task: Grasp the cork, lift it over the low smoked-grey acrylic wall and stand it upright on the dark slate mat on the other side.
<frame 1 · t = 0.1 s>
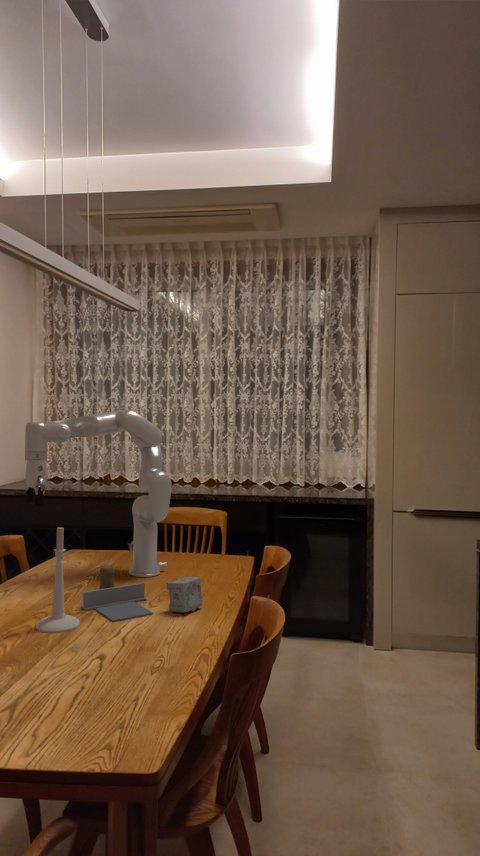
hand: (34, 503, 216), 31 cm above the table, fingers open, 9 cm apart
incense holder: (184, 610, 198), on the table
slate mat: (123, 612, 194), on the table
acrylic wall: (114, 603, 202), on the table
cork: (106, 597, 210), on the table
candlestick: (58, 626, 180), on the table
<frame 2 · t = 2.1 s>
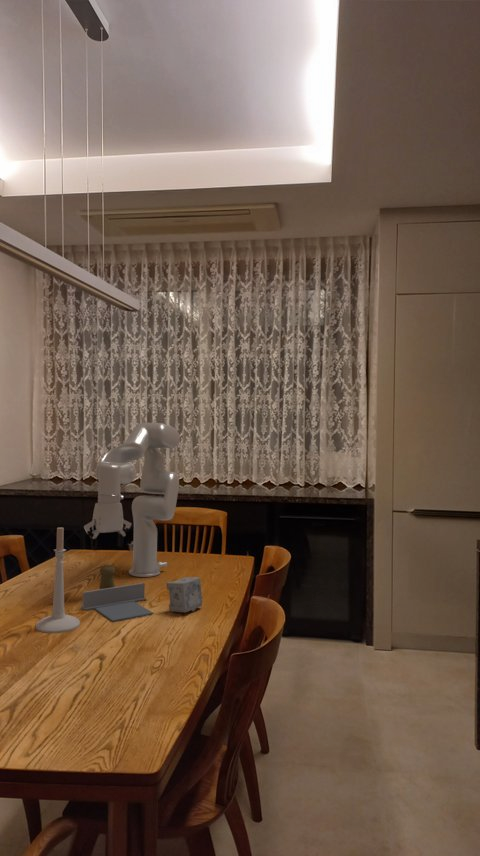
hand: (107, 548, 209), 17 cm above the table, fingers open, 9 cm apart
nothing on the table moved.
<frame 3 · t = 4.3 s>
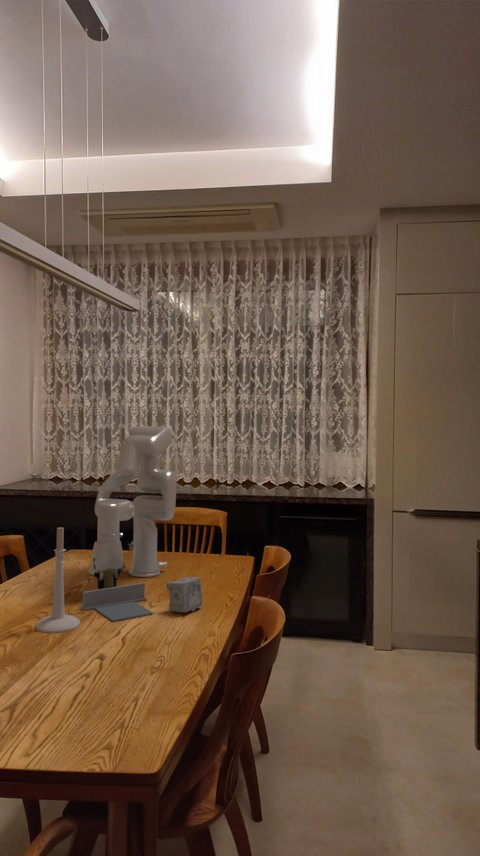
hand: (106, 589, 210), 3 cm above the table, fingers closed on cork, 3 cm apart
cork: (106, 597, 210), on the table, touching gripper
everything else where it was.
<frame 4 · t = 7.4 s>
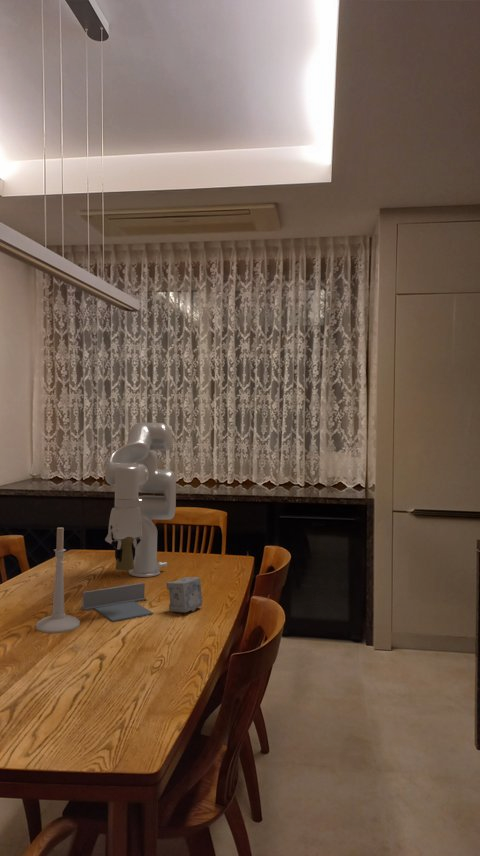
hand: (125, 559, 194), 17 cm above the table, fingers closed on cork, 3 cm apart
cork: (124, 568, 194), point 14 cm above the table, touching gripper
everything else where it was.
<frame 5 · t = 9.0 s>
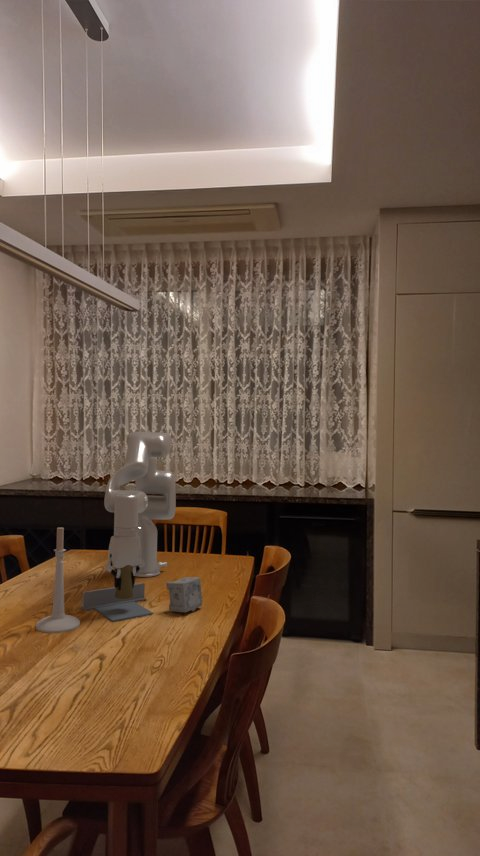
hand: (124, 587, 194), 8 cm above the table, fingers closed on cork, 3 cm apart
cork: (124, 596, 194), point 5 cm above the table, touching gripper
everything else where it was.
when the fingers open (5 cm above the table, at t = 10.4 s): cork drops 1 cm, resting on slate mat.
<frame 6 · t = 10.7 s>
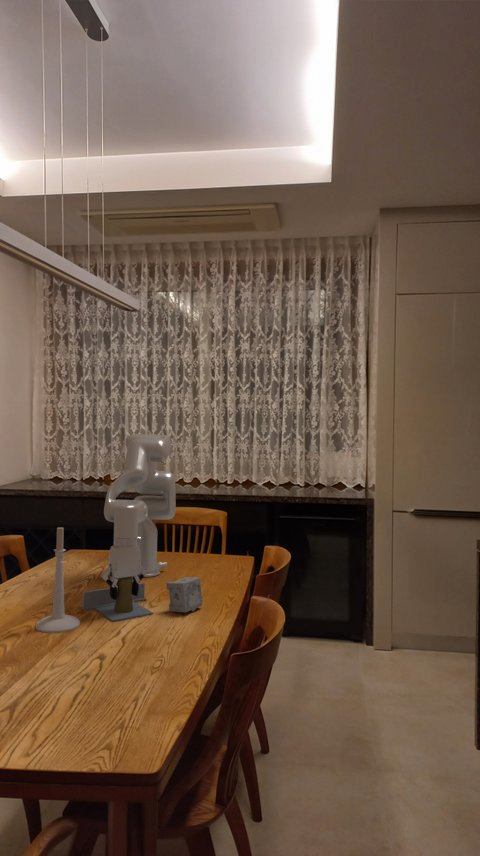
hand: (124, 596, 194), 5 cm above the table, fingers open, 6 cm apart
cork: (123, 610, 194), resting on slate mat
everything else where it was.
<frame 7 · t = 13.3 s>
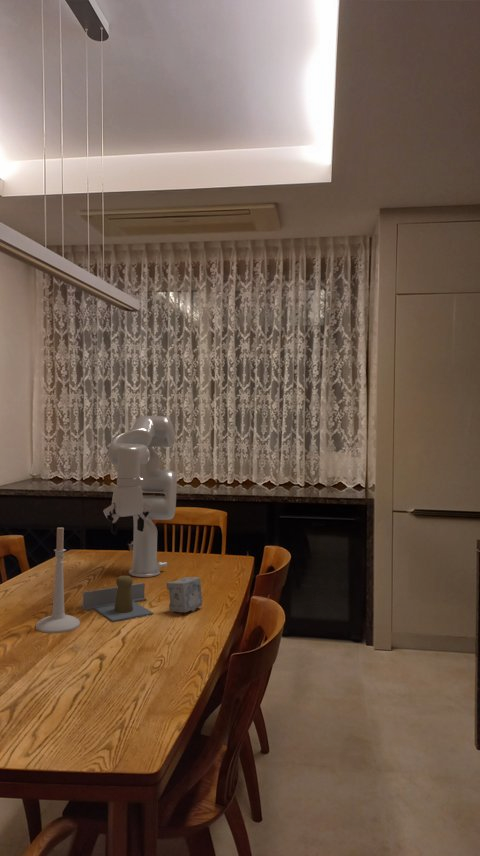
hand: (127, 532, 204), 24 cm above the table, fingers open, 9 cm apart
nothing on the table moved.
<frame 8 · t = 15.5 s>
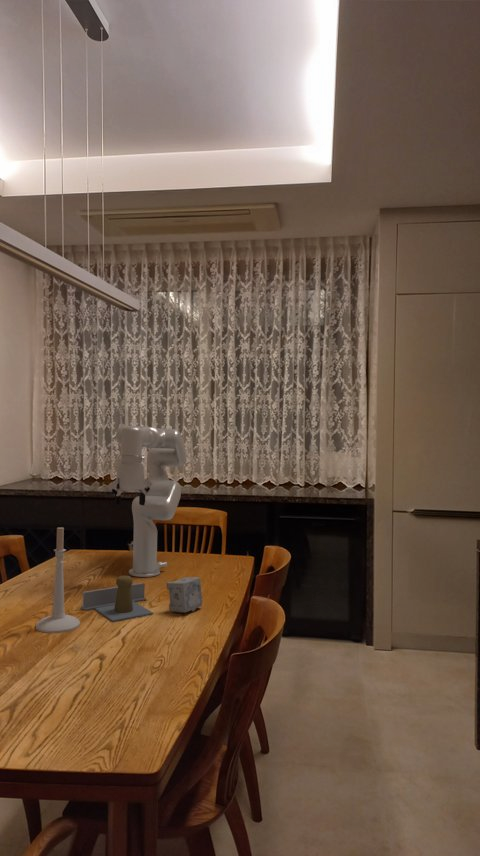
hand: (130, 505, 223), 30 cm above the table, fingers open, 9 cm apart
nothing on the table moved.
at the end: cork inside the target area on the slate mat (0.2 cm from its centre), point 0.4 cm above the slate mat's base; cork tilted 0°; the gripper is holding nothing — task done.
